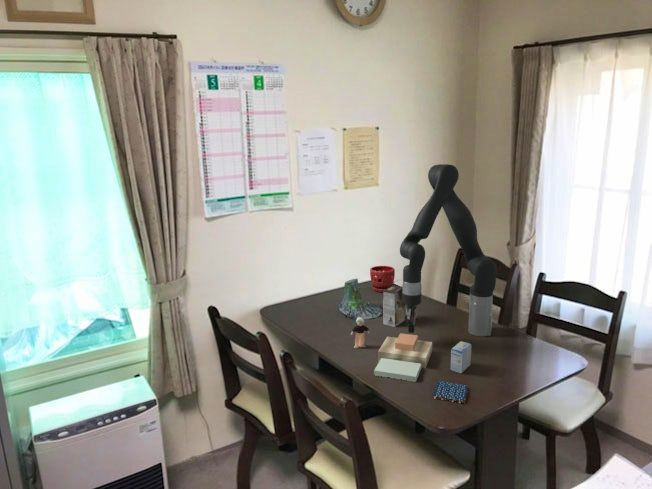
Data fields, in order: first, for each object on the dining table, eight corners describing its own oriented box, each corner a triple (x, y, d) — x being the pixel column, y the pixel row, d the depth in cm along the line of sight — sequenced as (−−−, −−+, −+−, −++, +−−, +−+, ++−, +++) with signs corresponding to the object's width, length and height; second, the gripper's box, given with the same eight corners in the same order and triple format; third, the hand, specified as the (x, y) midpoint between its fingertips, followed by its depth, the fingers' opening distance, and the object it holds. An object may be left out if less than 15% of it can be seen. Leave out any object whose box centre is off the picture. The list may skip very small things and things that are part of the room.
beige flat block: (432, 351, 194) (432, 342, 193) (425, 368, 181) (425, 358, 180) (387, 345, 200) (387, 336, 199) (378, 361, 188) (378, 351, 187)
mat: (421, 368, 181) (421, 363, 180) (415, 381, 172) (415, 376, 171) (381, 362, 186) (381, 358, 186) (374, 375, 177) (374, 370, 177)
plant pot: (399, 290, 265) (399, 268, 262) (379, 295, 259) (379, 273, 256) (385, 284, 276) (384, 263, 273) (365, 288, 270) (365, 267, 267)
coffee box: (392, 317, 229) (392, 284, 225) (405, 320, 225) (405, 287, 221) (382, 324, 222) (382, 290, 218) (395, 327, 218) (395, 293, 214)
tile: (417, 341, 194) (417, 335, 193) (413, 351, 186) (413, 345, 185) (400, 339, 197) (400, 333, 196) (394, 348, 188) (394, 342, 188)
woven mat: (465, 406, 157) (465, 400, 157) (432, 400, 161) (432, 394, 161) (469, 390, 167) (469, 384, 166) (437, 384, 171) (437, 379, 170)
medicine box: (459, 362, 185) (460, 340, 183) (471, 365, 182) (471, 343, 180) (450, 370, 179) (450, 348, 177) (461, 374, 176) (462, 351, 174)
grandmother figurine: (353, 350, 198) (352, 320, 195) (350, 346, 201) (349, 316, 198) (371, 347, 200) (371, 317, 196) (368, 343, 203) (367, 314, 200)
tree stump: (371, 324, 223) (361, 285, 220) (333, 326, 235) (323, 289, 232) (389, 308, 238) (380, 271, 236) (353, 311, 250) (343, 276, 248)
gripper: (418, 297, 188) (417, 339, 192) (424, 287, 200) (423, 326, 204) (398, 296, 191) (398, 337, 195) (406, 285, 203) (405, 324, 207)
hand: (411, 331), depth 200 cm, fingers closed
